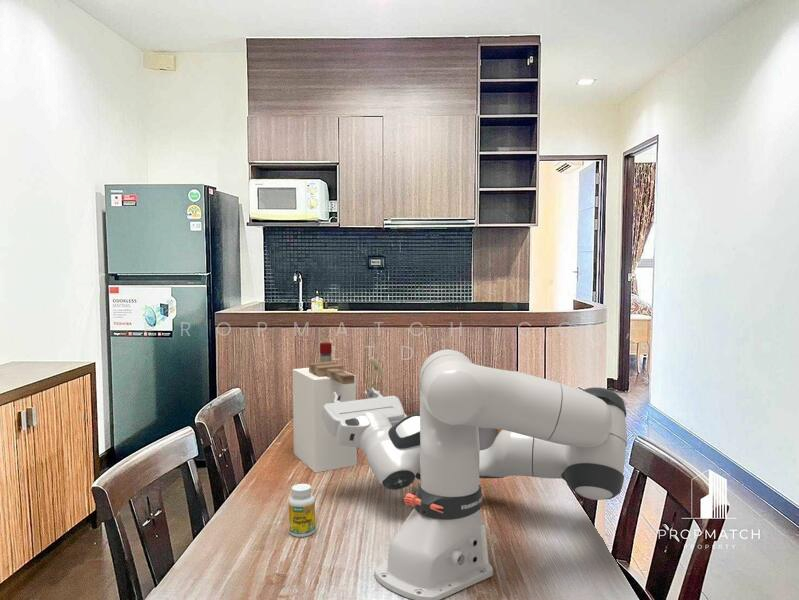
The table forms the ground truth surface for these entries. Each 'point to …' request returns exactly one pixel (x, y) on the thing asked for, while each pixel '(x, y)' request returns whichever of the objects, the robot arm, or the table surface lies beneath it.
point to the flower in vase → (376, 367)
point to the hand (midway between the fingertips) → (352, 391)
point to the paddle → (331, 372)
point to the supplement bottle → (301, 511)
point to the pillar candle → (486, 437)
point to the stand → (319, 421)
